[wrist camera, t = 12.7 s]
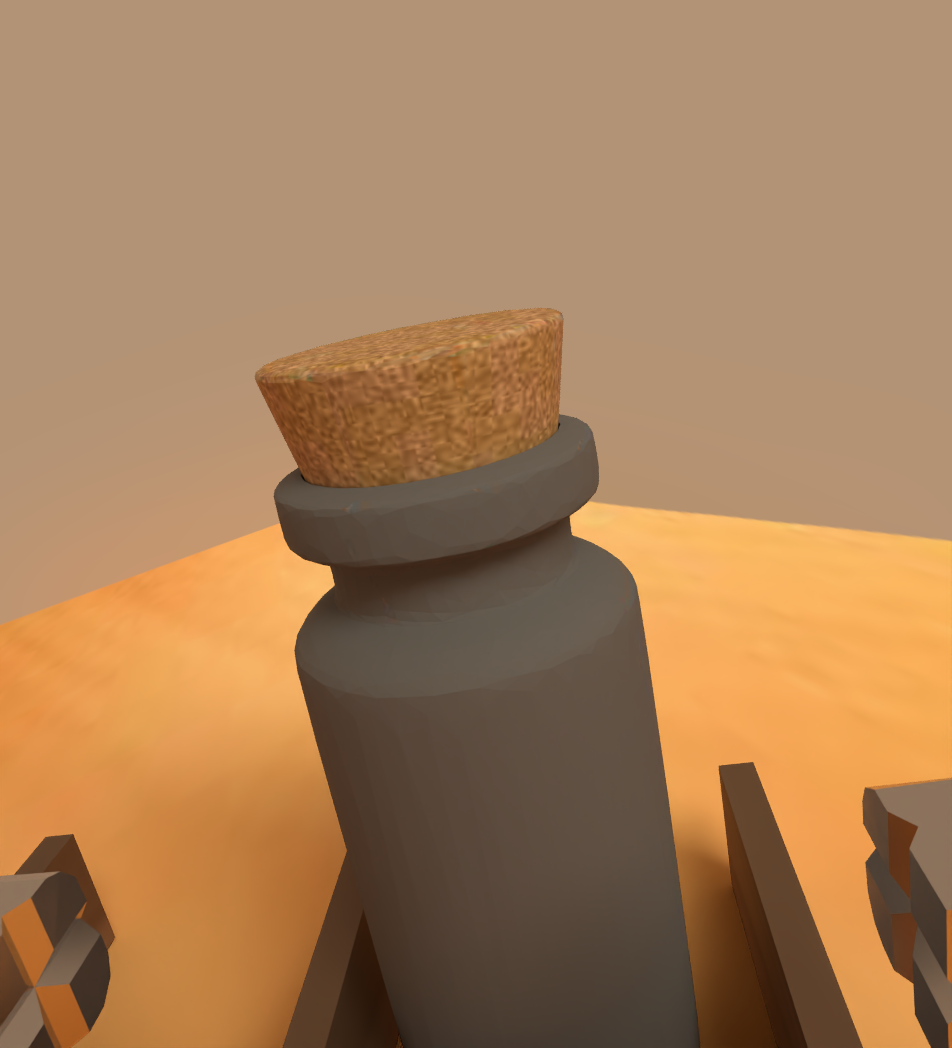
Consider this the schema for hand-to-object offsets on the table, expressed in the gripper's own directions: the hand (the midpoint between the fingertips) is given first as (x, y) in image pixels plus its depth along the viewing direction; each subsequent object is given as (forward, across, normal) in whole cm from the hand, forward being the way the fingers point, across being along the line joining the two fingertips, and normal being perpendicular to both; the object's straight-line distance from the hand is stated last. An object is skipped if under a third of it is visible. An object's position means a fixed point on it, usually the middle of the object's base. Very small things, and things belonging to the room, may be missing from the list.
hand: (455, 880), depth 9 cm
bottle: (+6, 0, +10) cm, 12 cm away
